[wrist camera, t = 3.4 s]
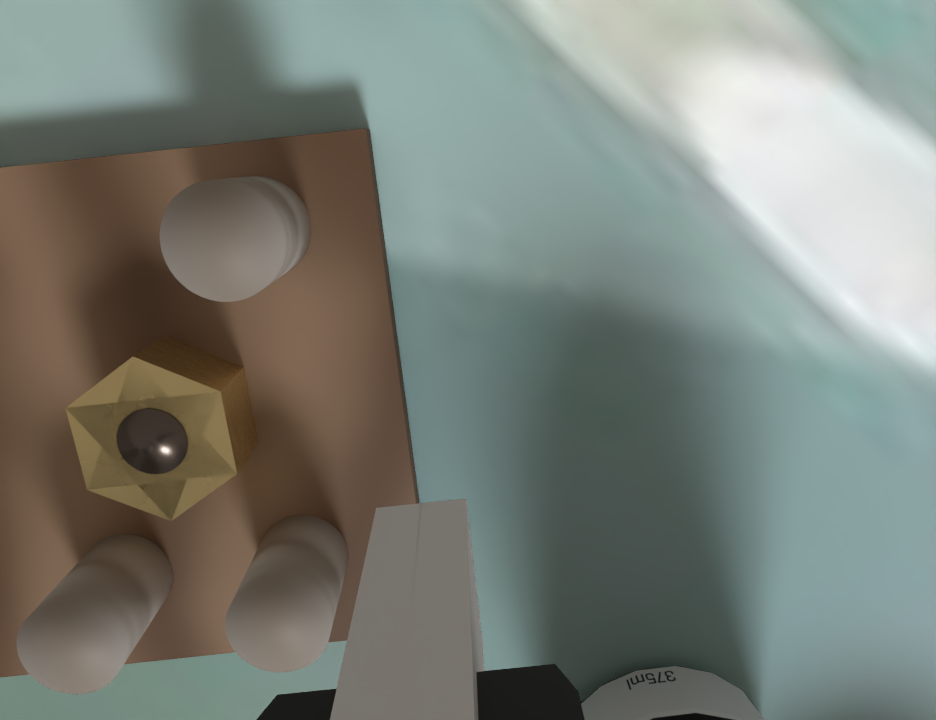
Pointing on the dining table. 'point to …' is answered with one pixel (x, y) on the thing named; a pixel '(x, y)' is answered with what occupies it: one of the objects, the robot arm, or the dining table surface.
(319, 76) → the dining table surface
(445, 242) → the dining table surface
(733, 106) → the dining table surface
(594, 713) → the supplement can
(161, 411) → the brass nut
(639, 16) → the dining table surface
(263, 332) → the board
